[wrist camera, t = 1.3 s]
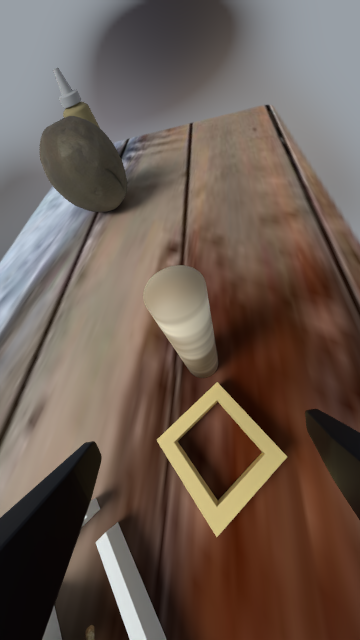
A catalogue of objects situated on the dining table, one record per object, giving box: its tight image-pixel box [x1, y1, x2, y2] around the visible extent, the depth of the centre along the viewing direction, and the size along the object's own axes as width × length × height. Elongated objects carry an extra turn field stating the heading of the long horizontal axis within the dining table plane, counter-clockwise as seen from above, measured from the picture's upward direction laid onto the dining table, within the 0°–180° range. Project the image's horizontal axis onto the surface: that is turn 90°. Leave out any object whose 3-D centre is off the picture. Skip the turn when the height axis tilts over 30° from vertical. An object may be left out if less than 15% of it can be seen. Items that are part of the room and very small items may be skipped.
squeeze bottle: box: [53, 68, 99, 127], centre depth 49 cm, size 8×8×18 cm
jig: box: [42, 382, 287, 640], centre depth 15 cm, size 16×23×2 cm
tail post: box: [143, 265, 218, 378], centre depth 17 cm, size 4×4×14 cm
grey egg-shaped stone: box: [40, 116, 127, 212], centre depth 38 cm, size 14×14×15 cm
